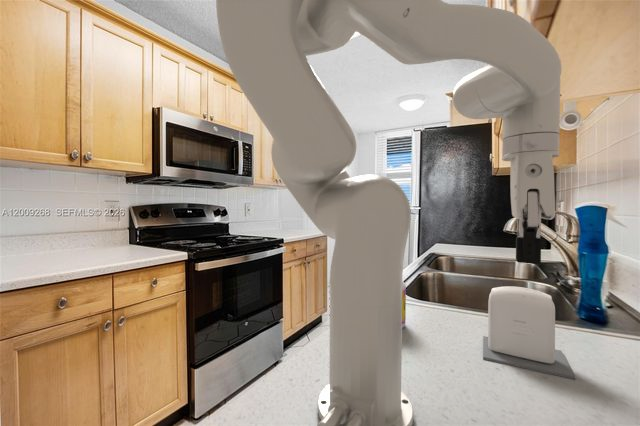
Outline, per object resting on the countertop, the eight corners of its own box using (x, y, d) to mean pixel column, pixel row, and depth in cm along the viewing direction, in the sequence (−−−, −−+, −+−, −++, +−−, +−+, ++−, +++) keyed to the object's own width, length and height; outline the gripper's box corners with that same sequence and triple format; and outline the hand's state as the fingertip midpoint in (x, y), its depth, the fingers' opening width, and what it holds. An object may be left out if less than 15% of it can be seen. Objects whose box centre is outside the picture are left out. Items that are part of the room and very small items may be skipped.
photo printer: (486, 351, 56) (487, 286, 56) (488, 342, 60) (489, 281, 60) (555, 368, 51) (557, 295, 50) (553, 357, 54) (555, 289, 54)
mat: (575, 379, 48) (575, 376, 48) (483, 359, 54) (483, 356, 54) (561, 352, 57) (561, 350, 57) (483, 337, 63) (483, 335, 63)
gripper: (571, 137, 40) (568, 274, 40) (549, 154, 53) (547, 257, 54) (505, 143, 44) (503, 268, 44) (500, 157, 57) (499, 254, 57)
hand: (527, 262), depth 49 cm, fingers closed
